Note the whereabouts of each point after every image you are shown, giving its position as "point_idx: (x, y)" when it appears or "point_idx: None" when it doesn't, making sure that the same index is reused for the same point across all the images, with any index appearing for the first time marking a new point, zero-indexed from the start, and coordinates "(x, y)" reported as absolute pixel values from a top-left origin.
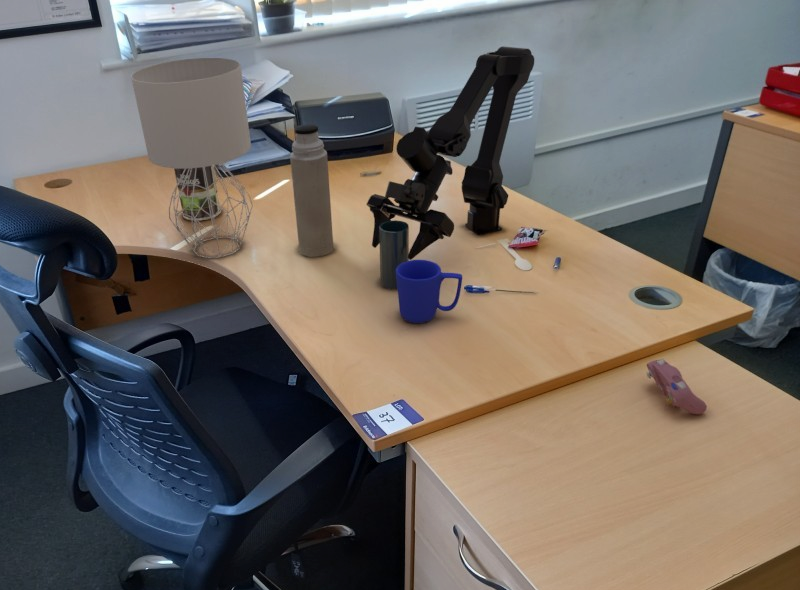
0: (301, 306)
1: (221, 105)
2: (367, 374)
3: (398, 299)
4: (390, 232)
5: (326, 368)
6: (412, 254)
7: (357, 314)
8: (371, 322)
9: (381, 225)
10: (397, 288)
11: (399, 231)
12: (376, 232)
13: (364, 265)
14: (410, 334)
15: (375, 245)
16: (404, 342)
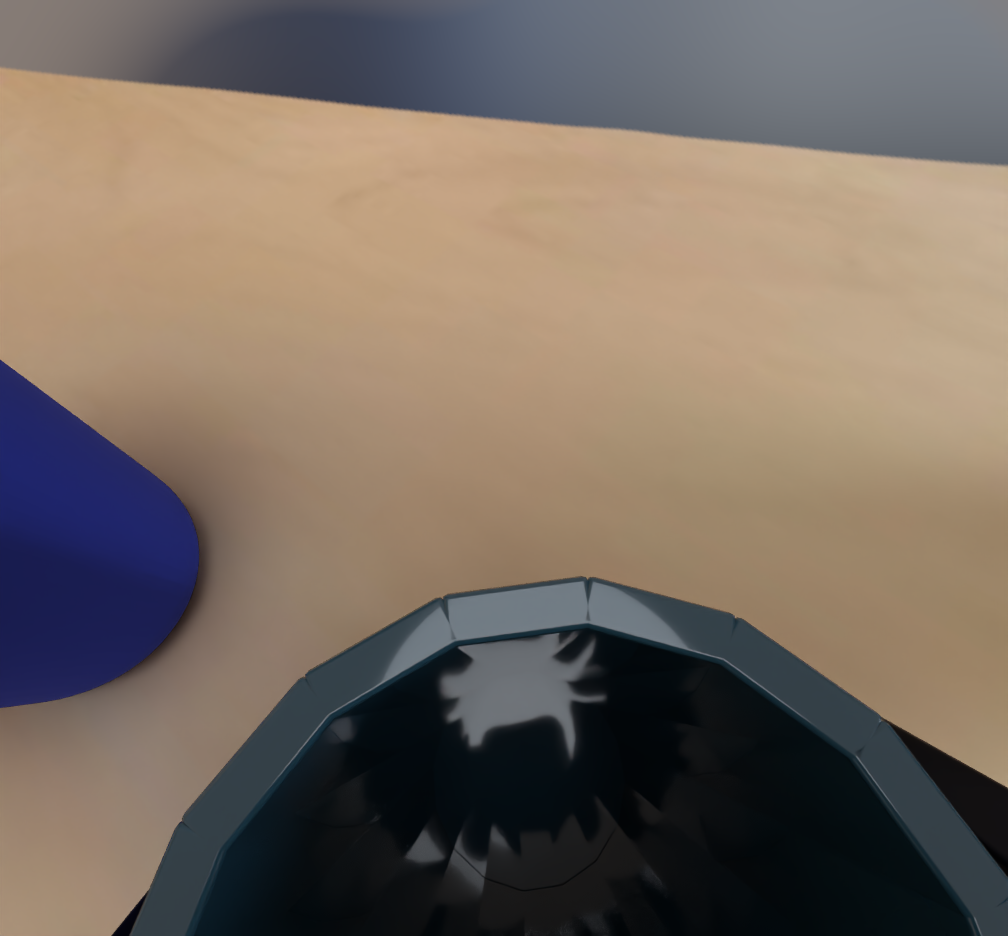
0: (633, 226)
1: None
2: (38, 168)
3: (110, 442)
4: (324, 663)
5: (189, 103)
6: None
7: (386, 361)
8: (276, 367)
9: (874, 790)
10: (42, 391)
11: (160, 931)
12: (997, 835)
13: None
14: None
15: None
16: (29, 375)
